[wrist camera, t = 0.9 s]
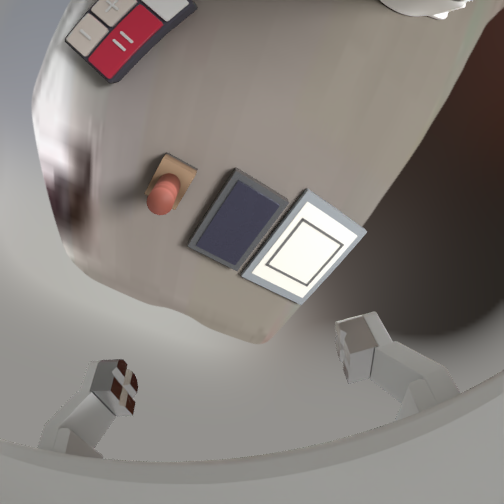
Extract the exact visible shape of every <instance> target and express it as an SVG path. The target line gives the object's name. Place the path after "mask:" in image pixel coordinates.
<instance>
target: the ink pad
mask: <svg viewBox="0 0 504 504" xmlns="http://www.w3.org/2000/svg"><path fill="white" fill-rule="evenodd" d="M288 204H289V202H288V200H287V198H285V197H284V196H282V195H280V194H279V193H277V192H276V191H274V190H272V189H271V188H269V187H268V186H266V185H264V184H263V183H261V182H259V181H258V180H256V179H254V178H253V177H251V176H249V175H248V174H246V173H244V172H243V171H241V170H239V169H238V168H235V170H234V171H233V173H232V174H231V176H230V177H229V179H228V180H227V182H226V183H225V185H224V186H223V188H222V189H221V191H220V192H219V194H218V195H217V197H216V198H215V200H214V202H213V203H212V205H211V206H210V208H209V209H208V211H207V212H206V214H205V216H204V217H203V219H202V220H201V222H200V224H199V225H198V227H197V228H196V230H195V232H194V233H193V235H192V236H191V238H190V240H189V242H188V247H190V248H192V249H194V250H196V251H198V252H200V253H202V254H204V255H205V256H207V257H209V258H211V259H213V260H215V261H217V262H220V263H222V264H224V265H226V266H228V267H230V268H232V269H234V270H236V271H238V269H239V268H240V267H241V265H242V264H243V263H244V261H245V260H246V259H247V258H248V256H249V255H250V254H251V252H252V251H253V250H254V248H255V247H256V246H257V244H258V243H259V242H260V240H261V239H262V238H263V236H264V235H265V234H266V233H267V231H268V230H269V229H270V227H271V226H272V225H273V223H274V222H275V221H276V219H277V218H278V217H279V215H280V214H281V213H282V211H283V210H284V209H285V208H286V206H287V205H288Z"/></svg>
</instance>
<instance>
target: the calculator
mask: <svg viewBox="0 0 504 504" xmlns="http://www.w3.org/2000/svg"><path fill="white" fill-rule="evenodd" d="M196 9H197V6H196V4H195V3H194V2H193V1H192V0H98V1H97V2H96V3H95V4H94V5H93V6H92V7H91V8H90V9H89V10H88V11H87V13H86V14H85V15H84V16H83V17H82V18H81V20H80V21H79V22H78V23H77V24H76V25H75V27H74V28H73V29H72V30H71V32H70V33H69V34H68V35H67V37H66V38H65V42H66V43H67V44H68V45H69V46H70V47H71V48H72V49H73V50H75V51H76V52H77V53H78V54H79V55H80V56H81V57H82V58H83V59H84V60H85V61H86V62H87V63H89V64H90V65H91V66H92V67H93V68H94V69H95V70H96V71H97V72H98V73H99V74H100V75H101V76H102V77H103V78H105V79H106V80H107V81H108V82H109V83H115V82H119V81H120V80H121V79H122V78H123V77H124V76H125V75H126V74H127V73H128V72H129V71H130V69H131V68H132V67H133V66H134V65H135V64H136V63H137V62H138V61H139V60H140V59H141V58H142V57H143V56H144V55H145V54H146V53H147V52H148V51H149V50H150V49H151V48H152V47H153V46H154V45H155V44H157V43H158V42H159V41H160V40H161V39H162V38H163V37H164V36H165V35H166V34H167V33H168V32H169V31H171V30H172V29H173V28H175V27H176V26H177V25H178V24H179V23H181V22H182V21H183V20H184V19H185V18H187V17H188V16H189V15H190V14H192V13H193V12H194V11H195V10H196Z"/></svg>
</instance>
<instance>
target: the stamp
mask: <svg viewBox="0 0 504 504" xmlns="http://www.w3.org/2000/svg"><path fill="white" fill-rule="evenodd" d="M197 170H198V169H197V168H195V167H193V166H191V165H189V164H188V163H186V162H184V161H182V160H180V159H178V158H177V157H175V156H173V155H171V154H169V153H166V155H165V156H164V157H163V159H162V161H161V163H160V164H159V166H158V168H157V170H156V172H155V174H154V176H153V178H152V180H151V181H150V183H149V185H148V187H147V189H146V191H145V193H144V194H145V195H147V196H148V198H147V206H148V208H149V210H150V211H151V212H153V213H154V214H157V215H164V214H167V213H168V212H170V210H171V209H174V210H175V209H176V208H177V206H178V204H179V202H180V201H181V199H182V197H183V195H184V194H185V192H186V190H187V189H188V187H189V185H190V184H191V182H192V180H193V179H194V177H195V175H196V172H197Z"/></svg>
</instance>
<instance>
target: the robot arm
mask: <svg viewBox="0 0 504 504" xmlns="http://www.w3.org/2000/svg"><path fill="white" fill-rule="evenodd" d="M380 1H381V2H382V3H384V4H385V5H386V6H388V7H389V8H391V9H393V10H395V11H397V12H399V13H401V14H404V15H408V16H430V17H432V18H435V19H438V20H442V19H445V18H446V17H447V14H448V12H449V11H453V10H457V9H461V8H464V7H465V6H466V5H465V3H466V2H467V1H473V0H380ZM335 330H336V333H337V336H336V337H335V344H336V350H337V354H338V357H339V360H340V361H341V362H342V363H343V371H344V374H345V376H346V379H347V382H348V384H351V383H354V382H358V381H362V380H366V379H369V378H370V380H371V381H373V382H374V383H375V384H377V385H378V386H379V387H381V388H382V389H383V390H384V391H386V392H387V393H388V394H390V395H391V396H392V397H394V398H395V399H396V400H398V401H399V402H400V403H402V404H401V407H400V409H399V411H398V414H397V416H396V418H395V419H396V421H395V422H392V423H389V424H387V425H384V426H380V427H377V428H374V429H371V430H369V431H365V432H362V433H359V434H355V435H352V436H348V437H344V438H341V439H338V440H333V441H329V442H325V443H321V444H317V445H312V446H308V447H303V448H298V449H293V450H288V451H282V452H276V453H270V454H263V455H257V456H249V457H240V458H232V459H220V460H207V461H184V462H147V461H126V460H112V459H103V456H102V454H101V453H99V452H98V451H97V450H95V449H94V448H95V447H96V445H97V444H98V442H99V441H100V440H101V438H102V437H103V435H104V434H105V432H106V431H107V429H108V428H109V427H110V425H111V424H112V422H113V421H114V420H115V418H116V417H115V416H133V413H134V408H135V400H134V399H133V397H134V396H135V395H136V394H137V391H138V382H137V378H136V376H135V374H134V373H133V372H132V371H130V370H129V369H127V363H126V362H125V361H124V360H123V359H116V360H100V361H91V362H90V363H89V364H88V367H87V369H86V372H85V375H84V379H83V381H82V385H81V387H80V391H79V392H76V393H75V394H74V395H73V396H72V397H71V398H70V399H69V400H68V401H67V402H66V403H65V404H64V405H63V406H62V407H61V408H60V409H59V410H58V411H57V412H56V413H55V414H54V415H53V416H52V417H51V418H50V420H48V421H47V422H46V424H45V425H44V428H43V431H42V434H41V438H40V441H39V445H38V448H34V447H30V446H26V445H22V444H18V443H14V442H10V441H7V440H4V439H0V504H504V370H502V371H501V372H499V373H497V374H496V375H494V376H492V377H490V378H489V379H487V380H485V381H483V382H481V383H480V384H478V385H476V386H474V387H472V388H470V389H469V390H466V391H464V392H462V393H460V391H459V390H458V388H457V386H456V384H455V383H454V381H453V379H452V377H451V375H450V374H449V372H448V370H447V369H446V367H444V366H442V365H440V364H438V363H436V362H435V361H433V360H431V359H429V358H427V357H425V356H423V355H422V354H420V353H418V352H416V351H414V350H412V349H410V348H408V347H406V346H405V345H402V344H401V343H399V342H397V341H395V342H392V340H391V338H390V336H389V334H388V333H387V331H386V329H385V327H384V325H383V324H382V322H381V320H380V318H379V317H378V315H377V313H376V312H370V313H367V314H364V315H359V316H356V317H353V318H348V319H345V320H341V321H337V322H336V323H335Z"/></svg>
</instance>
